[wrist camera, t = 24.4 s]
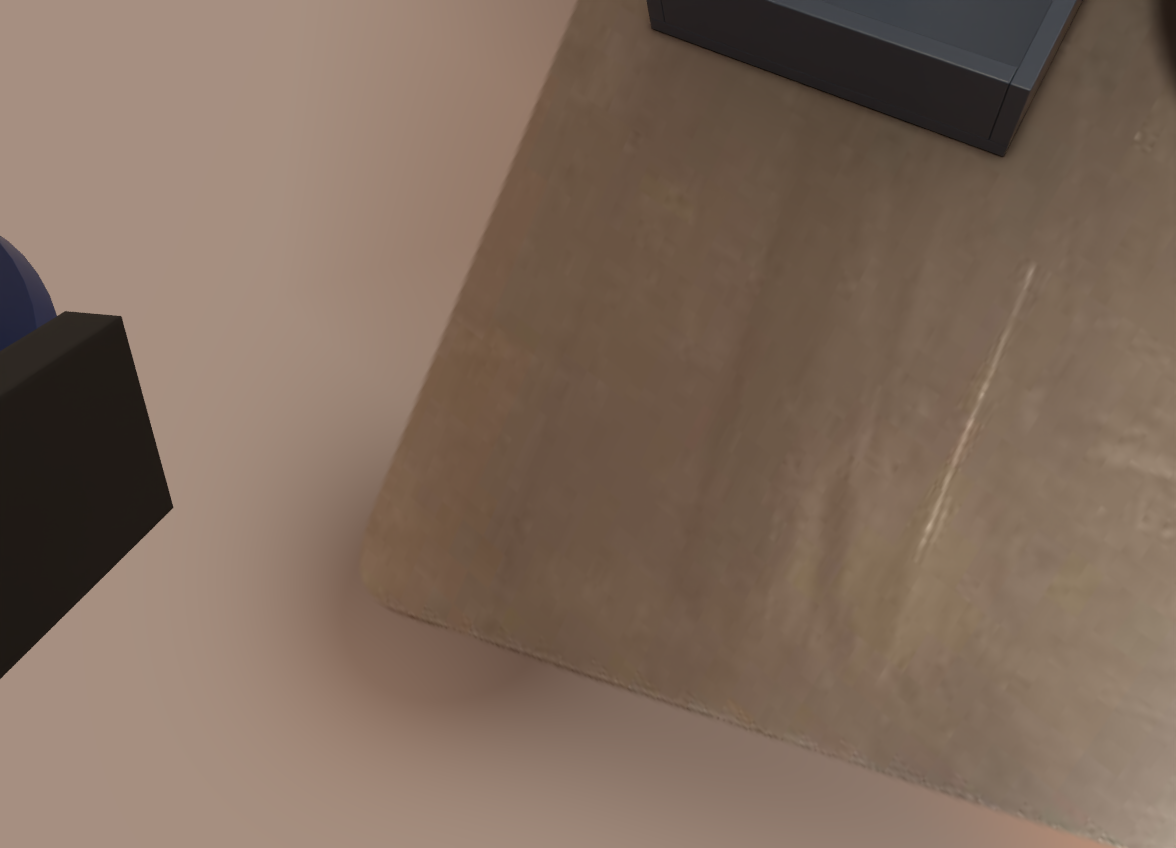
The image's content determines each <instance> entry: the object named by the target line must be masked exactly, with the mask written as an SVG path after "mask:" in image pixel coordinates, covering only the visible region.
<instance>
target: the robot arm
mask: <svg viewBox="0 0 1176 848" xmlns="http://www.w3.org/2000/svg"><path fill="white" fill-rule="evenodd" d="M172 508H173V504H172V501H171V497H170V494H169V490H168V486H167V482H166V479H165V475H164V472H163V468H162V464H161V460H160V457H159V453H158V449H157V446H156V442H155V438H154V435H153V431H152V427H151V424H150V420H149V417H148V413H147V409H146V405H145V402H144V399H143V394H142V391H141V387H140V383H139V380H138V376H137V372H136V369H135V365H134V361H133V358H132V354H131V350H130V347H129V343H128V339H127V335H126V332H125V328H124V325H123V321H122V317H121V316H112V315H101V314H90V313H79V312H67V311H65V312H63V313H62V314H60V315H58V316H57V317H55V318H53V319H52V320H50V321H49V322H47V323H45V324H44V325H42V326H40V327H39V328H37V329H35V330H34V331H32V332H31V333H29V334H27V335H26V336H24V337H22V338H21V339H19V340H17V341H16V342H14V343H13V344H11V345H9V346H8V347H6V348H4V349H3V350H1V351H0V679H1V678H2V677H3V676H4V675H5V673H7V672H8V671H9V670H10V669H11V668H12V667H13V666H14V665H15V664H16V663H17V662H18V661H19V660H20V659H21V658H22V657H23V656H24V655H25V654H26V653H27V652H28V651H29V650H30V649H31V648H32V647H33V646H34V645H35V644H36V643H37V642H38V641H39V640H40V639H41V638H42V637H43V636H44V635H45V634H46V633H47V632H48V631H49V630H50V629H51V628H52V627H53V626H54V625H55V624H56V623H57V622H58V621H59V620H60V619H61V618H62V617H63V616H64V615H65V614H66V613H67V612H68V611H69V610H70V609H71V608H72V607H73V606H74V605H75V604H76V603H77V602H78V601H79V600H80V599H81V598H82V597H83V596H84V595H86V594H87V593H88V592H89V591H90V590H91V589H92V588H93V587H94V586H95V585H96V584H97V583H98V582H99V581H100V580H101V579H102V578H103V577H104V576H105V575H106V574H107V573H108V572H109V571H110V570H111V569H112V568H113V567H114V566H115V565H116V564H117V563H118V562H119V561H120V560H121V559H122V558H123V557H124V556H125V555H126V554H127V553H128V552H129V551H130V550H131V549H132V548H133V547H134V546H135V545H136V544H137V543H138V542H139V541H140V540H141V539H142V538H143V537H144V536H145V535H146V534H147V533H148V532H149V531H150V530H151V529H152V528H153V527H154V526H155V525H156V524H157V523H158V522H159V521H160V520H161V519H162V518H163V517H164V516H165V515H166V514H167V513H168V512H169V511H170V510H171V509H172Z"/></svg>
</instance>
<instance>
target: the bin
mask: <svg viewBox="0 0 1176 848" xmlns="http://www.w3.org/2000/svg"><path fill="white" fill-rule="evenodd" d="M1082 1H1083V0H647V6H648V11H649V16H650V22H651V27H652V29H655V30H658V31H661V32H663V33H666V34H669V35H672V36H674V37H677V38H680V39H683V40H685V41H688V42H691V43H694V44H696V45H699V46H702V47H704V48H707V49H710V50H713V51H715V52H718V53H721V54H724V55H726V56H729V57H732V58H735V59H737V60H740V61H743V62H746V63H748V64H751V65H754V66H756V67H759V68H762V69H765V70H767V71H770V72H773V73H776V74H778V75H781V76H784V77H787V78H789V79H792V80H795V81H798V82H800V83H803V84H806V85H808V86H811V87H814V88H817V89H819V90H822V91H825V92H828V93H830V94H833V95H836V96H839V97H841V98H844V99H847V100H850V101H852V102H855V103H858V104H861V105H863V106H866V107H869V108H871V109H874V110H877V111H880V112H882V113H885V114H888V115H891V116H893V117H896V118H899V119H902V120H904V121H907V122H910V123H913V124H915V125H918V126H921V127H923V128H926V129H929V130H932V131H934V132H937V133H940V134H943V135H945V136H948V137H951V138H954V139H956V140H959V141H962V142H965V143H967V144H970V145H973V146H975V147H978V148H981V149H984V150H986V151H989V152H992V153H995V154H997V155H1000V156H1004V155H1005V153H1006V151H1007V149H1008V147H1009V145H1010V143H1011V141H1012V139H1013V137H1014V135H1015V133H1016V131H1017V129H1018V127H1019V125H1020V123H1021V121H1022V119H1023V117H1024V115H1025V113H1026V111H1027V109H1028V108H1029V106H1030V104H1031V102H1032V100H1033V98H1034V96H1035V94H1036V92H1037V90H1038V88H1039V86H1040V84H1041V82H1042V80H1043V78H1044V76H1045V74H1046V72H1047V70H1048V68H1049V66H1050V64H1051V62H1052V60H1053V58H1054V56H1055V54H1056V52H1057V50H1058V48H1059V46H1060V44H1061V42H1062V40H1063V38H1064V36H1065V34H1066V32H1067V30H1068V28H1069V26H1070V24H1071V22H1072V20H1073V18H1074V16H1075V14H1076V13H1077V11H1078V9H1079V7H1080V5H1081V3H1082Z"/></svg>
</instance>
